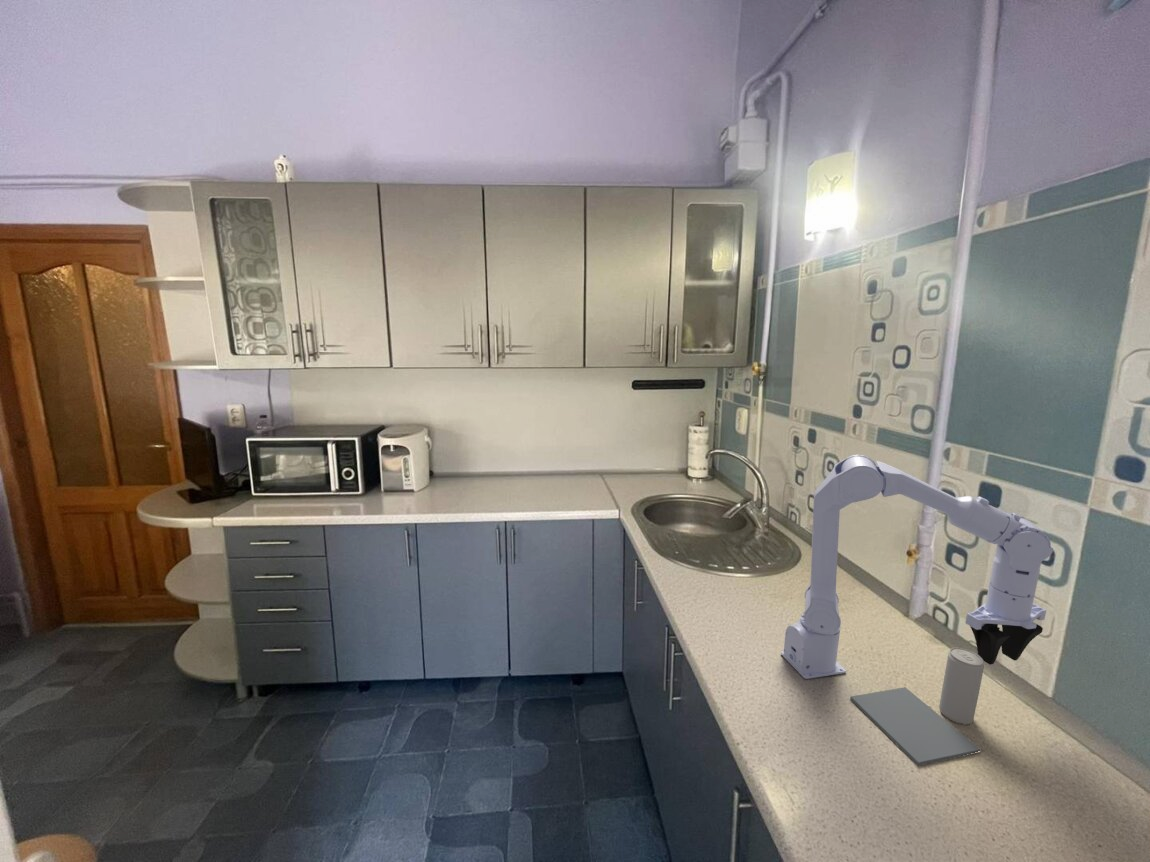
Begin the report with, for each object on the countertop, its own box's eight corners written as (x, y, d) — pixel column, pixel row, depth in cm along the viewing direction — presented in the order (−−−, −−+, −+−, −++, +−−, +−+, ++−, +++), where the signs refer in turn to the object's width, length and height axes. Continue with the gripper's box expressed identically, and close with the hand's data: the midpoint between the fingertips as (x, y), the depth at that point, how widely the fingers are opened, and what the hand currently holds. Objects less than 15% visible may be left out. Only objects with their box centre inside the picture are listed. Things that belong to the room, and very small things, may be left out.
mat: (918, 765, 73) (918, 762, 73) (850, 699, 87) (850, 696, 87) (980, 752, 76) (980, 749, 76) (904, 689, 89) (905, 687, 89)
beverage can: (957, 704, 86) (968, 646, 83) (980, 726, 81) (992, 665, 79) (931, 705, 85) (941, 647, 83) (953, 727, 81) (964, 665, 78)
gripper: (1002, 605, 75) (988, 680, 77) (1073, 596, 77) (1056, 668, 80) (958, 583, 81) (947, 652, 84) (1025, 575, 84) (1011, 642, 87)
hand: (997, 658), depth 82 cm, fingers open, 5 cm apart
